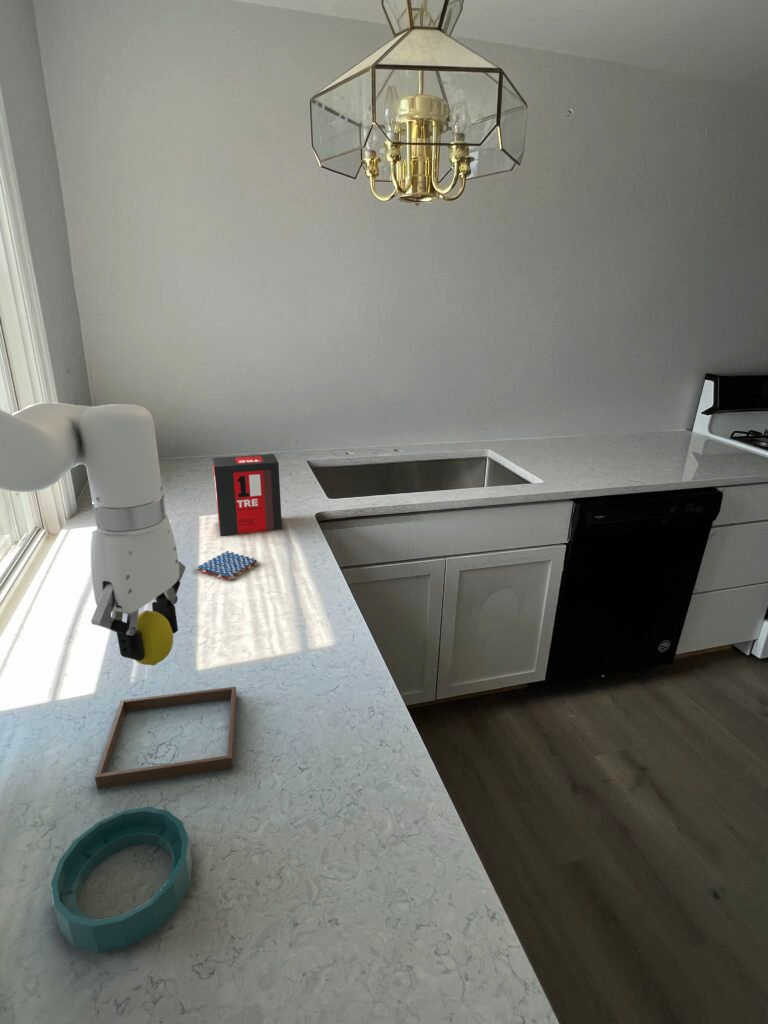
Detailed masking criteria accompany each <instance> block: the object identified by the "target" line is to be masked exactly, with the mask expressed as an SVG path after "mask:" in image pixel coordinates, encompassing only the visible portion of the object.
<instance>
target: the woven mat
mask: <svg viewBox="0 0 768 1024" xmlns="http://www.w3.org/2000/svg"><path fill="white" fill-rule="evenodd" d="M253 566H258V561H257V559H255V557H252V558H251V557H250V556H244V554H241V555H239V553H235V552H230V551H229V550H226V551H224V552H221V553H220V555H216V556H215V557H212V558H211V559H208V560H207V561H206V562H203V563H201V564H199V565H198V566H197V569H196V571H197V572H199V573H201V574H205V575H208V576H209V575H210V576H213V577H216V578H217V579H222V580H227V581H230V580H231V579H232V580H233V579H235V578H237V577H239V576H240V575H242V574H243V573H244V572H246V571H247V570H251V568H253Z"/></svg>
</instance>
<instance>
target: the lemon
mask: <svg viewBox="0 0 768 1024" xmlns="http://www.w3.org/2000/svg"><path fill="white" fill-rule="evenodd" d="M136 630H138V631H141V634H142V640H143V647H144V653H145V657H144V659H142V660H141V661H138V660H135V661H136V662H137V663H139V664H142V665H146V666H148V665H149V666H156V665H157V664H159V663H161V662H163V661H164V660H165V659H166V658H167V657H168V656H169V655H170V653H171V651H172V649H173V644H174V633H173V632H172V628H171V626H170V623H169V621H168V620H167V618H166V617H164V616H163V615H162V614H160V613H158V612H154V611H153V610H144V611H142V612H140V613H138V620H137V629H136Z"/></svg>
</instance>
